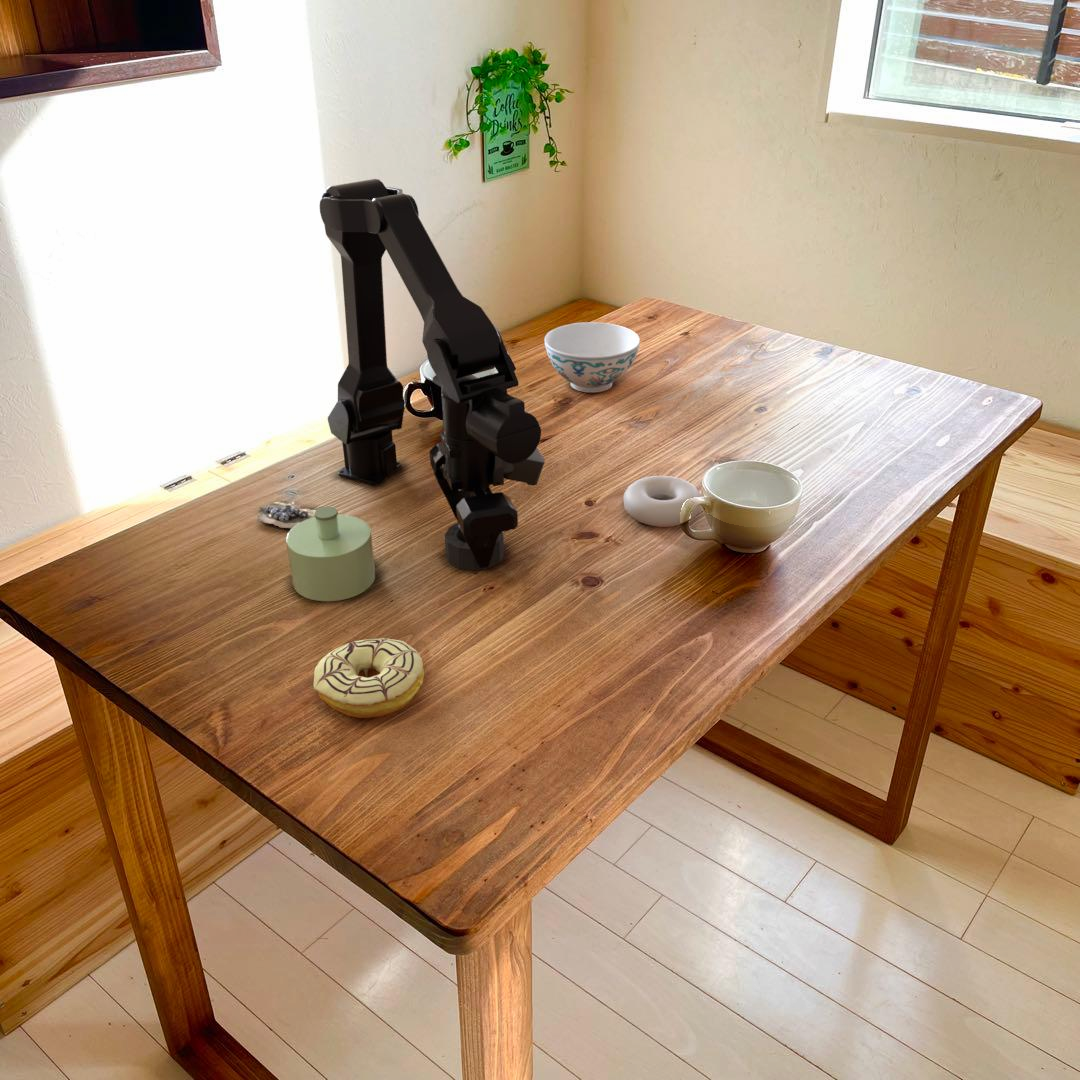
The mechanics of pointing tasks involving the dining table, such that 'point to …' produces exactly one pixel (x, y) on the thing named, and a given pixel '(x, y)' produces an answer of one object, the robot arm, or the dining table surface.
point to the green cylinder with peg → (331, 556)
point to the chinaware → (591, 353)
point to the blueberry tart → (284, 514)
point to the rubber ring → (468, 550)
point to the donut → (659, 500)
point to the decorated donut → (369, 677)
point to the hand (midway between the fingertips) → (474, 547)
